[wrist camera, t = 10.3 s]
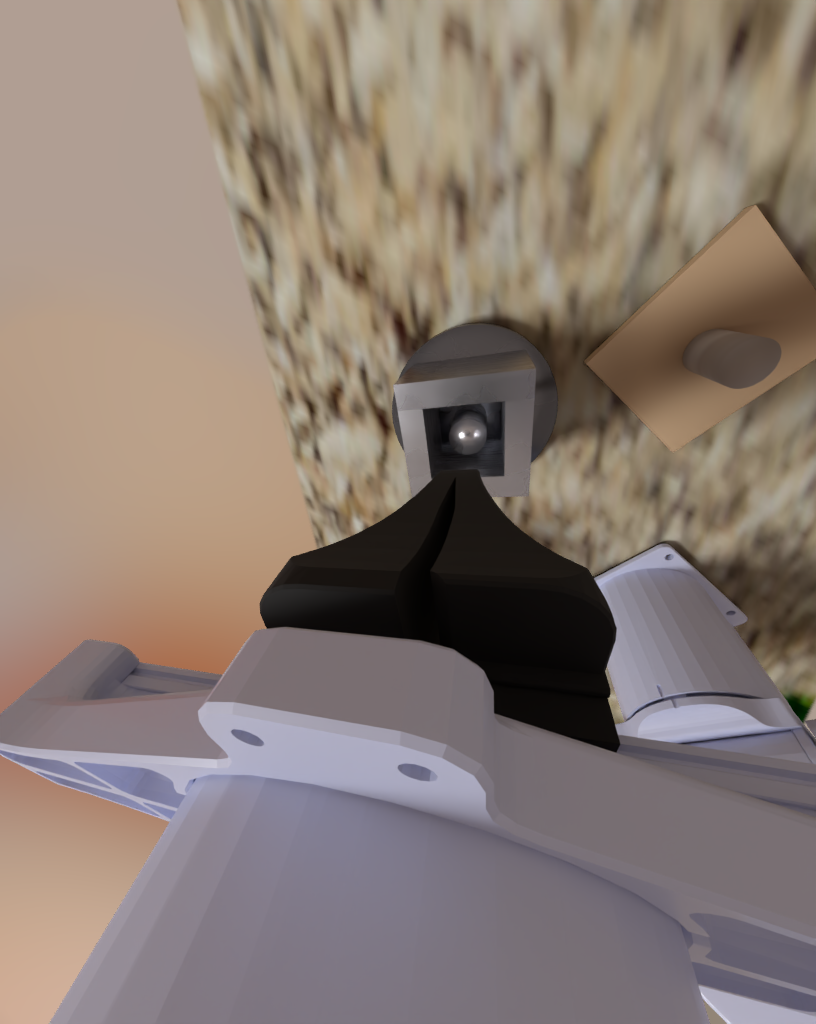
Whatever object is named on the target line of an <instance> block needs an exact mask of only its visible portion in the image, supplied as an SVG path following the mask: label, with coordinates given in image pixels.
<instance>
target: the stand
mask: <svg viewBox="0 0 816 1024" xmlns="http://www.w3.org/2000/svg"><path fill="white" fill-rule="evenodd" d="M815 359H816V289H815V288H814V287H813V285H812V284H811V282H810V281H809V280H808V278H807V277H806V275H805V274H804V272H803V271H802V270H801V268H800V267H799V265H798V264H797V263H796V261H795V260H794V258H793V257H792V255H791V254H790V253H789V251H788V250H787V248H786V247H785V245H784V244H783V243H782V241H781V240H780V238H779V237H778V236H777V234H776V233H775V231H774V230H773V228H772V227H771V226H770V224H769V223H768V221H767V220H766V219H765V217H764V216H763V214H762V213H761V211H760V210H759V209H758V207H757V206H756V205H753V206H750V207H747V208H745V209H744V210H743V211H742V212H741V213H739V214H738V215H737V216H736V217H735V218H734V219H733V220H732V221H731V222H730V223H729V224H728V225H727V226H726V227H725V228H724V229H723V230H722V231H720V232H719V233H718V234H717V235H716V236H715V237H714V238H713V239H712V240H711V241H710V242H709V243H708V244H707V245H706V246H705V247H704V248H703V249H702V250H700V251H699V252H698V253H697V254H696V255H695V256H694V257H693V258H692V259H691V260H690V261H689V262H688V263H687V264H686V265H685V266H684V267H683V268H681V269H680V270H679V271H678V272H677V273H676V274H675V275H674V276H673V277H672V278H671V279H670V280H669V281H668V282H667V283H666V284H665V285H664V286H662V287H661V288H660V289H659V290H658V291H657V292H656V293H655V294H654V295H653V296H652V297H651V298H650V299H649V300H648V301H647V302H646V303H645V304H644V305H642V306H641V307H640V308H639V309H638V310H637V311H636V312H635V313H634V314H633V315H632V316H631V317H630V318H629V319H628V320H627V321H626V322H625V323H623V324H622V325H621V326H620V327H619V328H618V329H617V330H616V331H615V332H614V333H613V334H612V335H611V336H610V337H609V338H608V339H607V340H606V341H605V342H603V343H602V344H601V345H600V346H599V347H598V348H597V349H596V350H595V351H594V352H593V353H592V354H591V355H590V356H589V357H588V358H587V359H586V360H584V363H585V364H586V365H587V366H588V367H589V368H590V369H591V370H592V371H593V372H594V373H595V374H596V375H597V376H598V377H599V378H600V379H601V380H602V381H603V382H604V383H605V384H606V385H607V386H608V387H609V388H610V389H611V390H612V391H613V392H614V393H615V394H616V395H617V396H618V397H619V398H620V399H621V400H622V401H623V402H624V403H625V404H626V406H627V407H628V408H629V409H630V410H631V411H632V412H633V413H634V414H635V415H636V416H637V417H638V418H639V419H640V420H641V421H642V422H643V423H644V424H645V425H646V426H647V427H648V428H649V429H650V430H651V431H652V432H653V433H654V434H655V435H656V436H657V437H658V438H659V439H660V440H661V441H662V442H663V443H664V444H665V445H666V446H667V447H668V448H669V449H670V450H671V451H672V452H675V451H676V450H678V449H679V448H681V447H682V446H684V445H685V444H687V443H688V442H690V441H691V440H693V439H694V438H696V437H697V436H699V435H700V434H702V433H704V432H705V431H707V430H708V429H710V428H711V427H713V426H714V425H716V424H717V423H719V422H720V421H722V420H723V419H725V418H726V417H728V416H729V415H731V414H732V413H734V412H735V411H737V410H739V409H740V408H742V407H743V406H745V405H746V404H748V403H749V402H751V401H752V400H754V399H755V398H757V397H758V396H760V395H761V394H763V393H764V392H766V391H767V390H769V389H770V388H772V387H773V386H775V385H777V384H778V383H780V382H781V381H783V380H784V379H786V378H787V377H789V376H790V375H792V374H793V373H795V372H796V371H798V370H799V369H801V368H802V367H804V366H805V365H807V364H808V363H810V362H812V361H813V360H815Z"/></svg>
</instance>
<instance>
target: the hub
mask: <svg viewBox="0 0 816 1024" xmlns="http://www.w3.org/2000/svg"><path fill="white" fill-rule="evenodd" d="M518 350H526V351H527V353H528V355H529V357H530V358H531V360H532V362H533V364H534V365H535V367H536V381H535V398H534V415H533V431H532V448H531V462H532V461H533V460H535V458H536V457H537V456H538V455H539V454H540V452H541V451H542V450H543V448H544V446H545V445H546V443H547V442H548V440H549V437H550V435H551V433H552V431H553V427H554V424H555V421H556V415H557V406H558V397H557V388H556V384H555V380H554V377H553V374H552V372H551V369H550V367H549V365H548V364H547V362H546V360H545V359H544V357H543V356H542V354H541V353H540V352H539V351H538V350H537V349H536V347H535V346H534V345H533V344H532V343H531V342H530V341H528V340H527V339H526V338H525V337H523V336H522V335H520V334H518V333H517V332H515V331H513V330H511V329H508V328H506V327H503V326H499V325H495V324H488V323H471V324H464V325H460V326H456V327H453V328H450V329H448V330H445V331H443V332H442V333H440V334H438V335H436V336H434V337H433V338H432V339H430V340H429V341H428V342H426V343H425V344H424V345H423V346H422V347H421V348H420V349H419V350H418V351H417V352H416V353H415V354H414V355H413V356H412V357H411V359H410V360H409V361H408V362H407V364H406V366H405V367H404V369H403V371H402V372H401V375H400V377H399V379H400V378H401V377H402V376H403V375H404V373H405V372H406V371H407V370H408V369H409V368H410V367H411V366H412V365H413V364H419V363H426V362H434V361H441V360H449V359H457V358H464V357H472V356H480V355H487V354H495V353H502V352H510V351H518ZM399 379H398V380H399ZM392 415H393V424H394V428H395V432H396V435H397V438H398V440H399V443H400V445H401V446H402V448H403V450H404V445H403V440H402V434H401V428H400V422H399V416H398V410H397V404H396V398H395V392H394V397H393V405H392ZM439 416H440V426H441V436H442V443H447V442H450V445H451V446H452V448H453V449H454V450H455V451H457V452H458V453H461V454H465V455H469V454H474V453H476V452H478V451H479V450H481V449H482V447H483V446H484V444H485V442H486V440H493V439H501V421H502V401H501V402H491V403H480V404H469V405H459V406H448V407H439ZM404 452H405V451H404Z"/></svg>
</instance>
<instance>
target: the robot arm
mask: <svg viewBox="0 0 816 1024" xmlns="http://www.w3.org/2000/svg"><path fill="white" fill-rule="evenodd" d="M669 554H671V555H669ZM666 555H669V556H666ZM260 613H261V616H262V619H263V621H264V623H265V626H266V627H267V629H262V630H257V631H255V632H254V633H253V634H252V635H251V636H250V638H249V639H248V640H247V641H246V642H245V644H244V645H243V646H242V648H241V649H240V651H239V652H238V654H237V655H236V657H235V658H234V659H233V661H232V663H231V664H230V665H229V667H228V668H227V670H226V671H225V673H224V674H223V675H219V674H213V673H207V672H200V671H194V670H187V669H179V668H174V667H166V666H160V665H153V664H147V663H141V662H139V659H138V658H137V657H136V656H135V655H134V654H133V653H132V652H131V651H130V650H129V649H128V648H126V647H124V646H122V645H120V644H117V643H112V642H105V641H97V640H85V641H83V642H82V643H81V644H80V645H79V646H78V647H77V648H76V649H74V650H73V651H72V652H71V653H70V654H69V655H67V656H66V657H65V658H64V659H63V660H62V661H61V662H59V663H58V664H57V665H56V666H55V667H54V668H52V669H51V670H50V671H49V672H48V673H47V674H46V675H45V676H44V677H42V678H41V679H40V680H39V681H38V682H36V683H35V684H34V685H33V686H32V687H31V688H30V689H28V690H27V691H26V692H25V693H24V694H23V695H22V696H20V697H19V698H18V699H17V700H16V701H15V702H13V703H12V704H11V705H10V706H9V707H8V708H7V709H6V710H4V711H3V712H2V713H1V714H0V755H1V756H3V757H5V758H7V759H9V760H11V761H13V762H15V763H17V764H19V765H21V766H23V767H25V768H27V769H28V770H30V771H33V772H34V773H36V774H38V775H40V776H42V777H44V778H46V779H48V780H50V781H52V782H54V783H56V784H59V785H62V786H65V787H69V788H72V789H75V790H78V791H81V792H85V793H88V794H91V795H94V796H97V797H100V798H103V799H106V800H109V801H112V802H115V803H118V804H121V805H124V806H127V807H130V808H132V809H135V810H138V811H141V812H144V813H147V814H149V815H152V816H155V817H158V818H161V819H163V820H167V821H169V822H170V823H169V824H168V826H167V828H166V829H165V831H164V833H163V834H162V836H161V838H160V839H159V841H158V843H157V844H156V846H155V848H154V849H153V851H152V853H151V854H150V856H149V858H148V859H147V861H146V863H145V864H144V866H143V868H142V869H141V871H140V873H139V874H138V876H137V878H136V879H135V881H134V883H133V884H132V886H131V888H130V889H129V891H128V893H127V895H126V896H125V898H124V899H123V901H122V903H121V904H120V906H119V908H118V909H117V911H116V913H115V914H114V916H113V918H112V919H111V921H110V923H109V924H108V926H107V928H106V929H105V931H104V933H103V934H102V936H101V938H100V939H99V941H98V943H97V944H96V946H95V948H94V950H93V951H92V953H91V955H90V956H89V958H88V960H87V961H86V963H85V965H84V966H83V968H82V969H81V971H80V973H79V974H78V976H77V978H76V979H75V981H74V983H73V985H72V986H71V988H70V990H69V991H68V993H67V995H66V996H65V998H64V1000H63V1001H62V1003H61V1005H60V1006H59V1008H58V1010H57V1011H56V1013H55V1015H54V1017H53V1018H52V1020H51V1021H50V1023H49V1024H710V1022H709V1019H708V1015H707V1012H706V1009H705V1005H704V1002H703V999H704V1000H705V1001H706V1002H707V1003H708V1004H709V1006H711V1008H713V1009H714V1010H715V1011H716V1012H717V1013H718V1015H719V1016H720V1017H721V1018H722V1019H724V1021H725V1022H726V1023H727V1024H816V739H815V738H816V719H815V720H807V721H805V722H806V724H807V726H808V727H809V729H810V730H811V732H812V733H813V735H814V736H815V737H814V736H813V735H812V734H811V733H810V731H809V730H808V729H807V728H806V726H805V725H804V724H803V723H802V722H801V720H800V719H799V718H798V717H797V716H796V714H795V713H794V712H793V711H792V709H791V707H790V705H789V704H788V702H787V701H786V699H785V698H784V697H783V695H782V694H781V692H780V691H779V690H778V688H777V687H776V685H775V684H774V683H773V681H772V680H771V678H770V677H769V676H768V674H767V673H766V671H765V670H764V669H763V667H762V666H761V664H760V663H759V662H758V660H757V659H756V658H755V656H754V655H753V653H752V652H751V651H750V649H749V648H748V646H747V645H746V644H745V642H744V641H743V639H742V638H741V637H740V635H739V634H738V632H737V631H736V630H735V628H734V627H735V626H738V625H741V624H743V623H745V622H746V621H747V620H748V618H747V616H746V615H745V614H744V613H743V612H742V611H741V610H740V609H739V608H738V607H737V606H736V605H734V604H733V603H732V602H731V601H730V600H729V599H728V598H727V597H726V596H725V595H724V594H722V593H721V592H720V591H719V590H718V589H717V588H716V587H715V586H714V585H713V584H712V583H711V582H709V581H708V580H707V579H706V578H705V577H704V576H703V575H702V574H701V573H700V572H699V571H698V570H696V569H695V568H694V567H693V566H692V565H691V564H690V563H689V562H688V561H687V560H686V559H685V558H683V557H682V556H681V555H680V554H679V553H678V552H677V551H676V550H675V549H674V548H673V547H671V546H670V545H669V544H660V545H657V546H655V547H653V548H651V549H649V550H647V551H646V552H644V553H642V554H640V555H638V556H636V557H634V558H632V559H630V560H628V561H626V562H624V563H622V564H620V565H619V566H617V567H615V568H613V569H611V570H609V571H607V572H605V573H603V574H601V575H599V576H597V577H595V578H593V576H592V575H591V573H590V571H589V570H588V569H587V568H585V567H583V566H581V565H579V564H577V563H575V562H573V561H571V560H568V559H566V558H564V557H562V556H560V555H558V554H556V553H554V552H553V551H551V550H549V549H548V548H546V547H544V546H543V545H541V544H539V543H538V542H536V541H535V540H533V539H532V538H531V537H529V536H528V535H527V534H525V533H524V532H523V531H521V530H520V529H519V528H518V527H517V526H516V525H514V524H513V523H512V522H511V521H510V520H509V519H508V518H507V516H506V515H505V514H504V513H503V512H502V511H501V510H500V508H499V507H498V506H497V504H496V503H495V502H494V500H493V499H492V497H491V496H490V494H489V493H488V491H487V489H486V487H485V486H484V483H483V481H482V479H481V476H480V472H479V471H478V470H477V469H468V470H441V471H440V472H439V473H438V474H437V475H436V476H435V477H434V478H433V479H432V480H431V481H430V482H429V483H428V484H427V485H426V486H425V487H424V488H423V489H422V490H421V491H420V492H419V493H418V494H416V495H415V496H414V497H413V498H412V499H410V500H409V501H408V502H407V503H406V504H404V505H403V506H402V507H401V508H399V509H398V510H397V511H395V512H394V513H392V514H391V515H389V516H388V517H386V518H385V519H383V520H382V521H380V522H378V523H376V524H374V525H373V526H371V527H369V528H367V529H365V530H363V531H361V532H359V533H357V534H355V535H353V536H351V537H348V538H346V539H344V540H341V541H339V542H336V543H334V544H331V545H328V546H325V547H323V548H319V549H316V550H313V551H310V552H307V553H303V554H300V555H297V556H293V557H291V558H290V560H289V561H288V562H287V564H286V565H285V566H284V568H283V569H282V570H281V572H280V573H279V574H278V576H277V577H276V578H275V580H274V581H273V582H272V584H271V585H270V587H269V588H268V589H267V591H266V592H265V593H264V595H263V597H262V599H261V602H260ZM606 667H608V670H609V673H610V676H611V680H612V683H613V686H614V689H615V692H616V696H617V699H618V702H619V705H620V709H621V712H622V715H623V718H624V721H625V722H623V723H619V724H615V723H614V719H613V716H612V712H611V709H610V705H609V702H608V698H609V697H610V687H609V684H608V680H607V677H606V673H605V670H606ZM702 998H703V999H702Z"/></svg>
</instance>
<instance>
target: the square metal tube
mask: <svg viewBox="0 0 816 1024" xmlns="http://www.w3.org/2000/svg"><path fill="white" fill-rule="evenodd" d="M535 381H536V367H535V365H534V364H533V362H532V360H531V358H530V357H529V355H528V353H527V351H526V350H518V351H510V352H502V353H495V354H487V355H480V356H472V357H464V358H457V359H449V360H441V361H434V362H426V363H419V364H413V365H412V366H411V367H410V368H409V369H408V370H407V371H406V372H405V373H404V375H403V376H402V377H401V378H400V379H399V380H398V381H397V382H396V383H395V384H394V385H393V386H394V392H395V398H396V404H397V410H398V416H399V422H400V428H401V434H402V440H403V445H404V451H405V457H406V463H407V469H408V475H409V481H410V487H411V493H412V498H413V497H414V496H415V495H416V494H418V493H419V492H420V491H421V490H422V489H423V488H424V487H425V486H426V485H427V484H428V483H429V482H430V481H431V480H432V479H433V478H434V477H435V476H436V475H437V474H438V473H439V472H440V471H441V470H468V469H477V470H478V471H479V472H480V476H481V479H482V481H483V483H484V486H485V487H486V489H487V491H488V493H489V494H490V496H491V497H512V496H529V481H530V465H531V448H532V431H533V415H534V398H535ZM501 401H502V421H501V439H493V440H486V442H485V444H484V446H483V447H482V449H481V450H479V451H478V452H476V453H474V454H469V455H465V454H461V453H458V452H457V451H455V450H454V449H453V448H452V446H451V445H450V442H447V443H442V436H441V426H440V416H439V407H448V406H459V405H469V404H480V403H491V402H501Z"/></svg>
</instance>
